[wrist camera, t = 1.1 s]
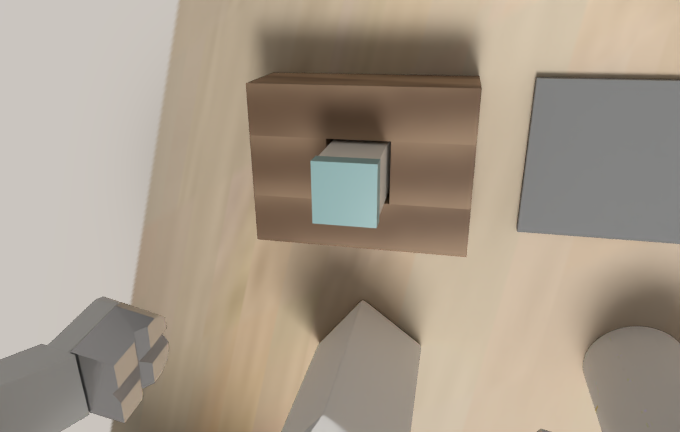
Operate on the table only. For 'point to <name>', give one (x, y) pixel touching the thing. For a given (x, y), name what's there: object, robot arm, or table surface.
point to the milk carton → (359, 378)
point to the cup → (635, 380)
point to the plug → (350, 182)
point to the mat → (603, 159)
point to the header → (374, 125)
